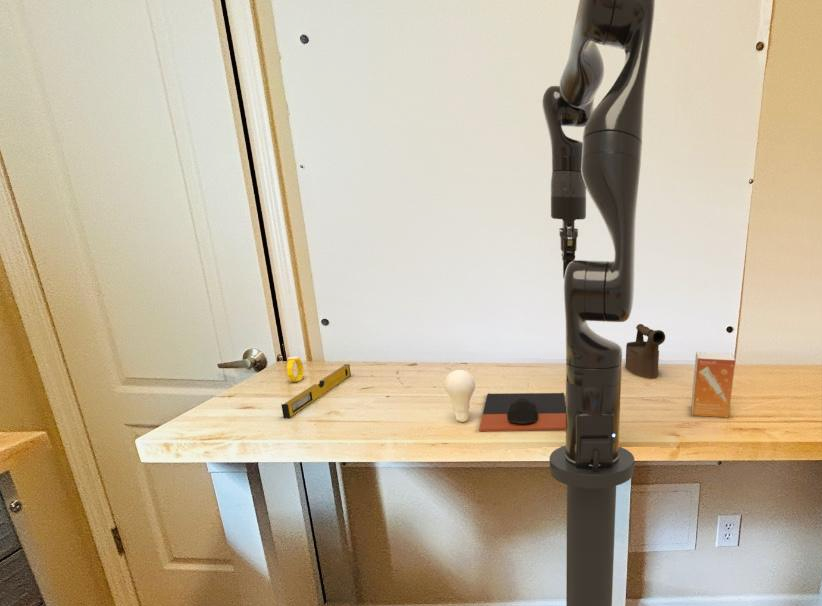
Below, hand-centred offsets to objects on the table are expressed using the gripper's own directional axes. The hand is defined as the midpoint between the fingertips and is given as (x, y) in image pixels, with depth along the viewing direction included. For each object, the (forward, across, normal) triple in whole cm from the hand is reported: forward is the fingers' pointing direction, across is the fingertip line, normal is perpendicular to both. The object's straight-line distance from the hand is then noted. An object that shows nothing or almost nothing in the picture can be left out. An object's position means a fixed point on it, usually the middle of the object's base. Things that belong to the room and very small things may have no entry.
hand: (568, 279), depth 135 cm
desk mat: (+27, -12, +10) cm, 31 cm away
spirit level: (+27, +2, +58) cm, 64 cm away
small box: (+27, -14, -31) cm, 44 cm away
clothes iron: (+27, +20, -22) cm, 40 cm away
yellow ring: (+27, +14, +67) cm, 74 cm away
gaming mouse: (+27, -16, +10) cm, 33 cm away
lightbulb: (+27, -18, +23) cm, 40 cm away
